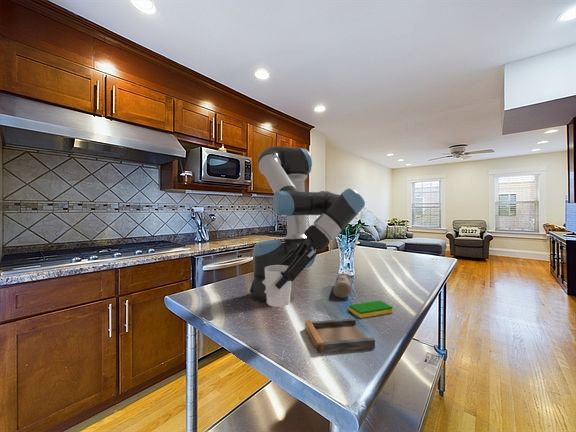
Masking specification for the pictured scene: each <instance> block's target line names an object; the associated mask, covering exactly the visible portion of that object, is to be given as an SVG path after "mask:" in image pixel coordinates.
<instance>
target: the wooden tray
mask: <svg viewBox="0 0 576 432" xmlns="http://www.w3.org/2000/svg"><path fill="white" fill-rule="evenodd" d="M356 321H357V320H356V318H354V317H353V318H341V319H329V320H317V321H316V320H315V321H312V320H311V319H310V320H309V319H306V320H305V322H304V327H305V328H304V329H305V331H306V333H307V335H308V338H309V340H310V342H311V344H312V345H313V348H314V349H316V350H315V351H317V352H316V353H317V354H323V352H324V353H330V352H329V351H334V352H342V351H341V350H345V351H352V350H363V349H373V348H376V338H375V339H374V337H368V336H367V335H366V334H365V333H364V332H363V331H362V330H361V329H360V328H359V326H357V325H356ZM321 352H322V353H321Z"/></svg>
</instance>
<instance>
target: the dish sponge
mask: <svg viewBox="0 0 576 432" xmlns="http://www.w3.org/2000/svg"><path fill="white" fill-rule="evenodd" d="M348 311H349V312H351V313H352V314H353V315H355V316H357V317H358V318H359V319H364V318H368V317H375V316H381V315H386V314H393V306H391V305H390V304H387V303H386V302H383V301H382V300H375V301H367V302H361V303H355V304H349V306H348Z"/></svg>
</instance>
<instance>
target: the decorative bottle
mask: <svg viewBox="0 0 576 432" xmlns="http://www.w3.org/2000/svg"><path fill="white" fill-rule="evenodd" d="M353 283H354V281H353V279H352V276H351V275H350V274H348V273H347V272H346V273H345V272H344V273H340V274H338V276H337V277H336V280H335V283H334V285H333V288H332V292H333V294H334V296H336V297H337V298H339V299H345V298H347V297H349V296H350V294H351V292H352V285H353Z"/></svg>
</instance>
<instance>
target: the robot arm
mask: <svg viewBox="0 0 576 432" xmlns="http://www.w3.org/2000/svg"><path fill="white" fill-rule="evenodd" d="M312 160H313V159H312V156H311V153H310V152H309V151H308V150H307V148H301V147H297V146H296V147H289V146H279V145H273V146H269V147H267V148H265V149H264V150H262V151H261V153H260V154H259V155H258V158H257V160H256V164H257V168H258V170H259V172H260V174H261V175H263V176H265V179H266V181H267V183H268V185H269V186H270V189H271V190H272V192H273V194H274V195H273V196H272V197H273V198H272V208H273V213H275V214H276V216H286V230H287V231H286V232H287V233H286V235H285V236H284V238H283V242H282V241H281V240H280V239H277V238H275V239H265V240H262V241H258V242H256V243H255V244H254V246H253V253H252V257H253V279H252V282H251V285H250V289H249V298H250V299H251V298H252V300H253V299H254V301H256V302H258V301H259V302H267V296H266V294H267V295H268V296H269V297H270V298H271V299H272V298H273V297H274V296H275V295H276V294H277V293H278V292H279V291H280V290H281V288H282V287H283V286H284V285H285V284H286V283H287V282H288V281H291V282H292V283H293V282H294V281H295V279H296V278H298V277H299V275H300V274H301V273H302V271H303V270H304V269H307V268H310V267H312V265H313V264H314V262H315V260H316V256H317V253H316V251H317V249H318V250H319V251H324V250H325V249H326V248H327V247H328V246H329V245H330V243H331V241H333V240H334V239H335V238H337V237H339V235H340V233H341V232H342V231H343V230H344V229H345V228H346V227H347V226H348V225H349V224H350V223H351V221H353V220H354V219H355V218H356V216H357V215H359V213H360V212H361V211H362V210H363V209H364V207H365V205H366V202H365V200H364V199H365V198H363V196H362V195H361V194H360V193H359V192H357V190H355V189H353V188H349V187H348V188H346V189H344V191H342V192H341V193H340V194H337V193H333V192H331V191H329V190H327V191H326V190H321V191H305V190H306V189H305V186H306V185H305V180H307V178H308V175H309V174H310V173H311V171H312V167H313V161H312ZM307 216H318V217H317V218H316V220H314V221H313V224H312V225H310V226H309V227H308V228H307ZM271 265H286V266H289V267H288V268H287V269H286V270H285V272H281V273H280V274H281V275H280V276H279V277H278V278H277V279H276V280H275V281H274V282H273V283H272V284H271V285H270V286H269V287H268V288H267V289H266V285H265V267H267V266H271Z"/></svg>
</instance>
